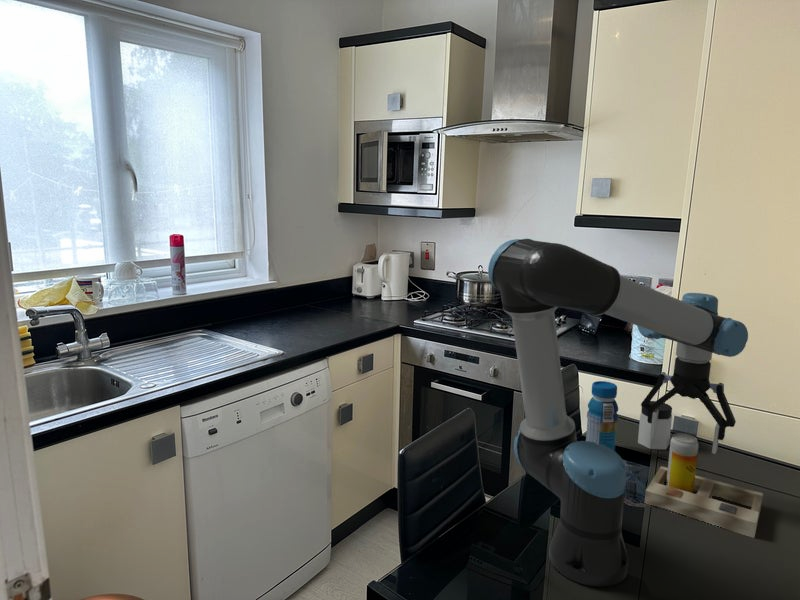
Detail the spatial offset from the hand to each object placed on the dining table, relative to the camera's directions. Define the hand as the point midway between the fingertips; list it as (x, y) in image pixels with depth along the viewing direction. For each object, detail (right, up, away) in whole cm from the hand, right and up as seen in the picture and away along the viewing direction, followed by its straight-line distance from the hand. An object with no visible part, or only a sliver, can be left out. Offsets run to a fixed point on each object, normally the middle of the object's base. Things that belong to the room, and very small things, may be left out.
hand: (682, 443), depth 136 cm
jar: (+7, -8, +31) cm, 33 cm away
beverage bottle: (-11, -9, +27) cm, 30 cm away
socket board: (+4, -14, -2) cm, 15 cm away
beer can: (0, -13, +3) cm, 14 cm away
